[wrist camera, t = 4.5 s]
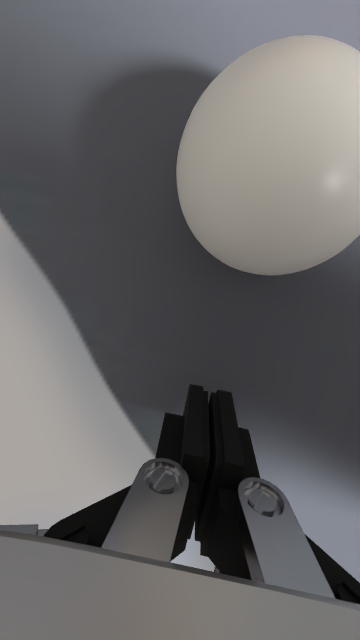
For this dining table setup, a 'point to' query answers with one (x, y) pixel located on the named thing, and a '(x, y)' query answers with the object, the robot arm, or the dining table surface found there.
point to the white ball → (276, 157)
